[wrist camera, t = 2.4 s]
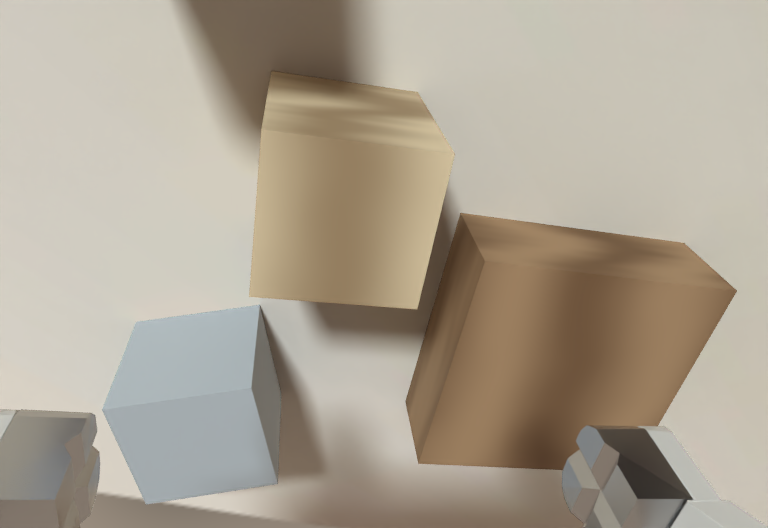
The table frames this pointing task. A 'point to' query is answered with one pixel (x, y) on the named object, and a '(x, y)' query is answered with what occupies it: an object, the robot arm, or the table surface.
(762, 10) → the table surface
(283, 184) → the oak block
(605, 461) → the robot arm
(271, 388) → the slate cube
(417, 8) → the table surface
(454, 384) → the walnut block
